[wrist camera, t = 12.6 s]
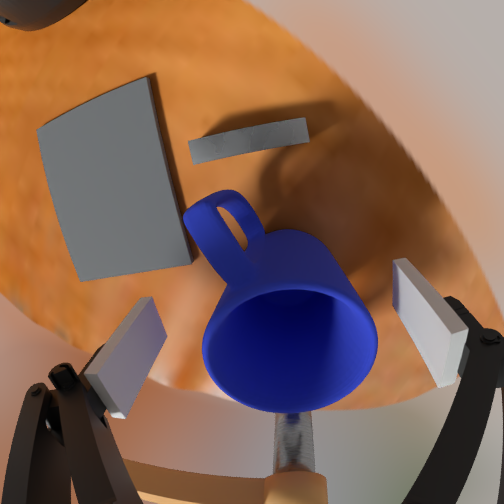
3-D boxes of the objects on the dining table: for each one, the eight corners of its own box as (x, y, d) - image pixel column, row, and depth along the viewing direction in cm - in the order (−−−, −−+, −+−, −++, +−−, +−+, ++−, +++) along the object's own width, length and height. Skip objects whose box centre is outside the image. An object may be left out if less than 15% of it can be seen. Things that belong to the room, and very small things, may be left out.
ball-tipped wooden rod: (56, 449, 15) (40, 478, 12) (33, 420, 14) (13, 451, 11) (321, 492, 13) (323, 535, 10) (330, 468, 12) (334, 520, 9)
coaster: (40, 129, 19) (36, 129, 19) (149, 78, 18) (146, 76, 17) (83, 278, 24) (80, 281, 24) (193, 260, 23) (191, 264, 22)
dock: (177, 145, 19) (61, 168, 8) (323, 116, 18) (394, 91, 6) (237, 364, 26) (216, 486, 15) (348, 349, 25) (378, 472, 13)
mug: (279, 144, 19) (282, 151, 10) (357, 285, 22) (397, 376, 13) (179, 206, 21) (112, 263, 12) (266, 330, 25) (260, 429, 15)
